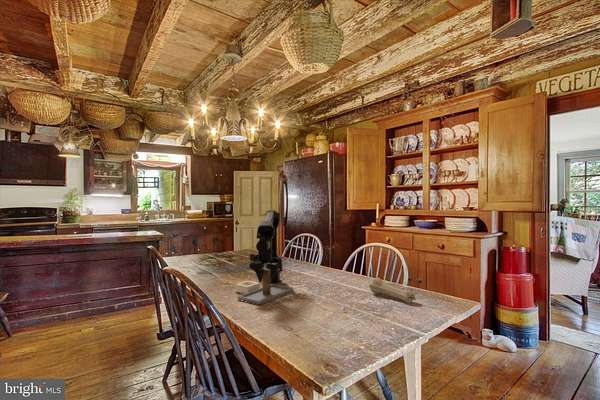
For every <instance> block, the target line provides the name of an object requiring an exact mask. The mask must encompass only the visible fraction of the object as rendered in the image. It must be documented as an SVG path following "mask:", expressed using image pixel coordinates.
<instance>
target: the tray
mask: <svg viewBox="0 0 600 400" xmlns="http://www.w3.org/2000/svg"><path fill="white" fill-rule="evenodd" d="M270 287H271V294H270V295H263V289H262V287H260V288H259V289H256V290H254V291H251V292H248V293H245V294H242V293H241V294H240V295H237V300H238V299H239V300H238V301H240V300H243V301H242V302H244V301H247V302H246V303H248V302H250V303H249V304H252V303H254V304H253V305H256V304H258V305H257V306H261V305H260V304H262V305H264V304H266V303H268V302H267V301H269V302H270V300H271V301H273V300H275V298H276V299H278V298H280V297H283V296H285V295H288V294H289V292H290V293H293V292H294V287H293V286H288V285H287V286H286V285H281V284H278V283H270ZM287 293H288V294H287ZM284 294H285V295H284ZM282 295H283V296H282ZM279 296H280V297H279ZM277 297H278V298H277ZM272 299H273V300H272ZM265 302H266V303H265ZM263 303H264V304H263Z"/></svg>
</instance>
